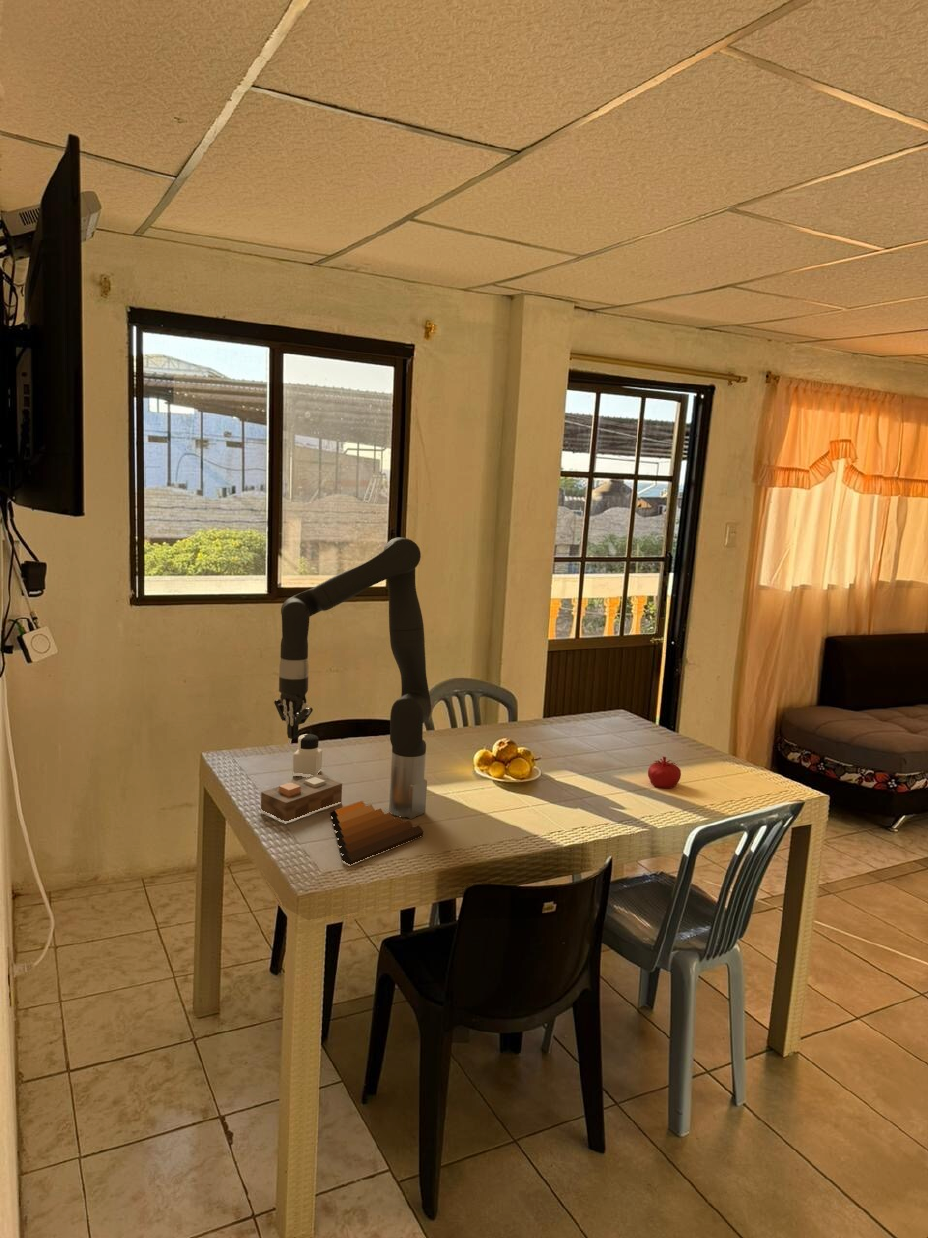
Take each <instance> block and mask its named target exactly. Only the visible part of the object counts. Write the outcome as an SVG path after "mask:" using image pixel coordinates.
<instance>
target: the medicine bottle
mask: <svg viewBox="0 0 928 1238" xmlns="http://www.w3.org/2000/svg"><path fill="white" fill-rule="evenodd" d="M292 756H293V757H292V773H293V772H294V773H303V774H311V775H316V774H317V773H318V771H319V770H320V769H321V767H322V768H323V766H322V765H323V749H322V748H319V737H318V736H317V735H315V734H312V733H305V734H301V735H298V737H297V750H296V751H294V753H293V755H292Z"/></svg>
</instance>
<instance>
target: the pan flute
mask: <svg viewBox="0 0 928 1238" xmlns="http://www.w3.org/2000/svg"><path fill="white" fill-rule="evenodd" d="M329 814H330V817H331V816H332V817H333V819H331V823H333V824H335V826H333V824H332V827H333V830H336V831H338V832H337V833H335V832H334V833H335V838H336V837H337V838H339V840H336V841H337V843H336V844H337V846H338V845H339V846H342V847H341V848H339V847H338V849H339V854H340V853H342V854H344V855H343V856H341V855H340V857H341V861H342V860H343V861H345V862H346V863H348V864H350V865H351V864H353V863H355V862H358V861H360V860H363V859H365V858H367V857H370V856H372V855H376V854H378V853H381V852H383V851H386V850H388V849H391V848H393V847H396V846H398V845H401V844H403V843H406V842H408V841H410V842H412V841H411V840H413V839H415V838H418V837H420V836H422V837H423V835H424V829H422V827H421V825H420V824H418V825H414V826H413V824H412V822H411V821H410V820H407V821H403V820H402V817H398V816H396V817H395V818H394V815H393V814H391V813H390V812H387V813H384V812H383V810H382V809H381V808H378V809H375V807H374V806H373V804H369V805H366V804H365V803H364V801H363V800H360V801H357V802H354V803H352V804H349V805H346V806H343V807H340V808H336V809H333V811H331V812H329ZM420 838H421V837H420ZM418 839H419V838H418ZM415 840H416V839H415ZM413 841H414V840H413ZM408 843H409V842H408ZM406 844H407V843H406ZM403 845H404V844H403ZM401 846H402V845H401ZM398 847H399V846H398ZM396 848H397V847H396ZM391 850H392V849H391ZM386 852H387V851H386Z"/></svg>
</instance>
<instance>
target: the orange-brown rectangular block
mask: <svg viewBox="0 0 928 1238" xmlns="http://www.w3.org/2000/svg"><path fill="white" fill-rule="evenodd" d="M291 782H292V781H291ZM291 782H287V783H284V784H281V785H279V786H278V787H279V793H281V794H284V795H286V796H288V797H289V796H292V795H295V794H298V793H300V792H301V786H299V785H296V784H294V783H291Z"/></svg>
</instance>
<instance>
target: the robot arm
mask: <svg viewBox="0 0 928 1238" xmlns="http://www.w3.org/2000/svg"><path fill="white" fill-rule="evenodd" d="M421 554H422V553H421V550H420V547H419V545H418V544H417V543H416V542H415V541H413V540H412V539H409V538H407V537H399V536H397V537H394V538H391V539H390V540H388V542H387V543H386V544H385V546H384V549H383V550H382V551H381V552H380V553H379V554H377V555H376V556H374V557H373V558H371V559H369V560H368V561H365V562H364V563H362V564H359V565H357V566H355V567H353V568H350V569H348V570H345V571H342V572H340V573H338V574H336V575H334V576H332V577H331V578H329V579H327V580H325V581H323V582H321V583H319V584H317V585H316V586H314V587H312V588H310V589H307V590H305V591H302V592H300V593H297V594H295V595H293V596H291V597H289V598H288V599H286V600H285V601H284V602H283V603H282V604H281V608H280V614H281V639H280V659H279V660H280V661H279V664H278V665H279V667H278V668H279V669H278V671H279V672H278V691H279V693H280V695H279V696H280V698H279V699H276V700H274V702H273V703H274V706H275V708H276V710H277V712H278V715H279V717H280V719H281V721H282V722H285V724H286V735H287V738H288V739H290V740H295V739H298V737H299V728H300V727H299V726H300V725H301V724H305V722H306V721H307V719H308V718H309V717H310V716H311V714H312V713H313V707H309V706H308V704H307V698H306V697H307V696H306V694H307V693H308V692H309V672H310V671H309V669H310V668H309V658H308V657H309V641H308V638H309V629H310V617H312V616H315V615H316V614H317V613H320V612H324V611H325V612H326V611H329V610H331V609H333V608H335V607H336V606H339V605H341V604H342V603H345V601H348V600H350V599H351V598H353V597H355V596H357V595H358V594H360V593H362V592H363V591H365V590H367V589H369V588H370V587H373V586H374V585H377V584H379V583H381V582H383V581H386V580H387V585H388V627H389V643H390V649H391V651H392V652H391V653H392V654H393V655H392V656H393V658H394V659H395V662H396V665H397V667H398V669H399V673H400V674H399V675H400V679H401V680H400V681H401V682H400V683H401V693H400V694H401V696H400V697H399V698H398V699H396V700H395V701H394V702H393V704H392V706H391V710H390V715H389V716H390V717H389V719H390V721H389V726H390V727H389V733H390V734H389V739H390V744H391V759H390V760H391V763H390V764H391V765H390V781H389V783H390V785H389V808H388V811H390V812H391V813H392V814H391V815H393V814H394V815H393V816H395V815H397V816H396V817H398V816H401V817H400V818H405V817H408V818H407V819H411V818H412V819H414V818H416V816H417V817H419V816H421V815H424V814H425V813H426V811H427V810H426V808H427V791H428V790H427V789H428V788H427V787H428V780H427V779H425V776H426V775H425V774H426V773H425V771H426V755H427V743H426V741H425V740H424V739H423V733H424V732H423V730H424V727H423V726H424V723H426V721H428V720H429V718H430V716H431V713H432V703H431V702H432V701H431V695H430V690H429V683H428V680H427V679H428V677H427V670H426V669H427V666H426V663H427V661H426V647H425V644H426V643H425V642H426V640H425V627H424V626H425V625H424V620H423V619H424V618H423V614H422V610H421V606H420V605H421V604H420V600H419V598H418V594H417V587H416V568H417V567H418V565H419V564H420V562H421V558H422V557H421V556H422V555H421ZM423 813H424V814H423Z"/></svg>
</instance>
